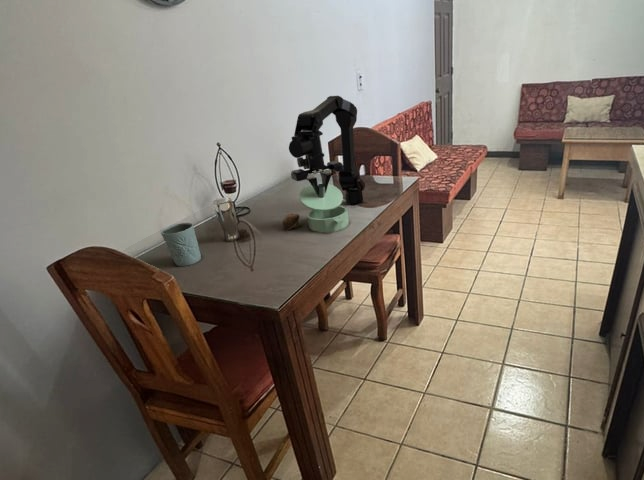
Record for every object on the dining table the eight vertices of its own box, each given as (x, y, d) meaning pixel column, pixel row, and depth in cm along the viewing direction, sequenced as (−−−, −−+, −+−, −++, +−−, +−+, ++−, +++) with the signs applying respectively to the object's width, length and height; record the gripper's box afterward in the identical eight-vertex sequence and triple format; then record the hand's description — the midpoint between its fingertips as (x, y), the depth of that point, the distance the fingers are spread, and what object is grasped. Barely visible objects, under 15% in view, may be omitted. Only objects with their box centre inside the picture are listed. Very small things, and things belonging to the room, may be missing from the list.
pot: (334, 213, 173) (332, 201, 170) (359, 226, 158) (357, 213, 155) (300, 223, 166) (297, 211, 164) (323, 238, 151) (321, 224, 148)
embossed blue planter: (173, 269, 140) (159, 236, 134) (173, 258, 148) (161, 226, 142) (204, 261, 143) (193, 229, 137) (203, 251, 151) (192, 220, 145)
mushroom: (308, 216, 162) (295, 206, 159) (300, 231, 158) (287, 221, 155) (296, 223, 168) (284, 213, 165) (289, 238, 163) (276, 228, 160)
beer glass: (225, 243, 155) (213, 204, 148) (222, 237, 161) (210, 200, 153) (244, 238, 158) (233, 200, 150) (240, 233, 163) (229, 195, 156)
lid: (330, 181, 166) (330, 169, 162) (350, 205, 158) (351, 193, 154) (292, 191, 159) (291, 178, 155) (311, 216, 151) (311, 204, 147)
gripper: (327, 143, 159) (333, 183, 167) (281, 153, 151) (290, 195, 159) (341, 146, 151) (347, 189, 159) (293, 157, 143) (301, 201, 151)
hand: (321, 193), depth 157 cm, fingers closed on lid, 3 cm apart
